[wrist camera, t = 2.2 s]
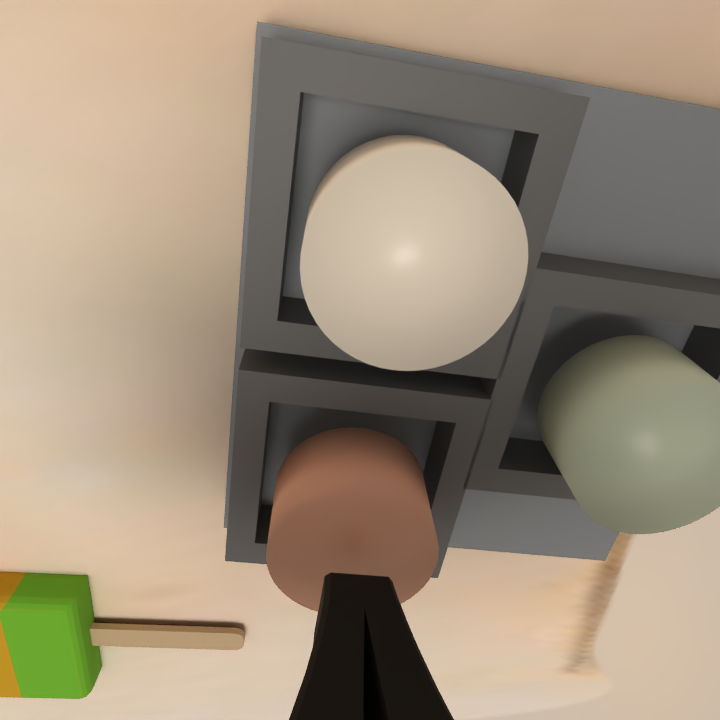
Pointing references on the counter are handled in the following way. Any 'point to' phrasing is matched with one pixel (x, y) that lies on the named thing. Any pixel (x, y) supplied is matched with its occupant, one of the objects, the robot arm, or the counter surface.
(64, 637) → the striped ice pop
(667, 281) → the grey compartment tray
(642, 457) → the sage button
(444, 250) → the cream button
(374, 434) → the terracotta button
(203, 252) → the counter surface
